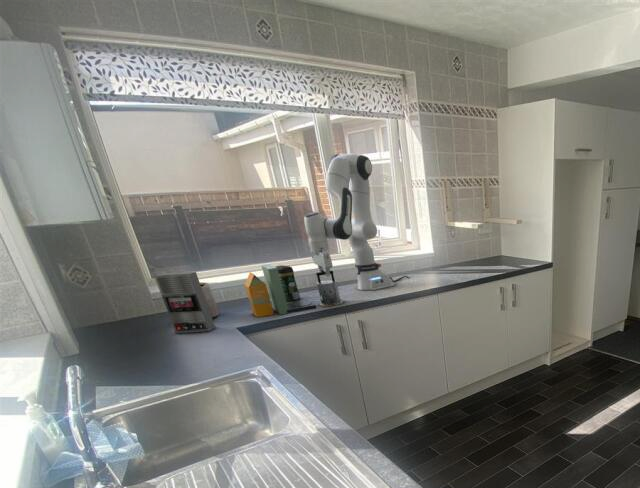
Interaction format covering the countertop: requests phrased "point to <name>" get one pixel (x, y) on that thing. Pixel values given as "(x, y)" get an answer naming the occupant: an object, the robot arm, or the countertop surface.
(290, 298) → the coffee jar
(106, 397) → the countertop surface
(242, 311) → the countertop surface
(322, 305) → the cork mat
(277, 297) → the coffee maker
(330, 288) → the grey box with handle
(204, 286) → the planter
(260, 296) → the orange juice
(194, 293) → the cassette tape recorder
